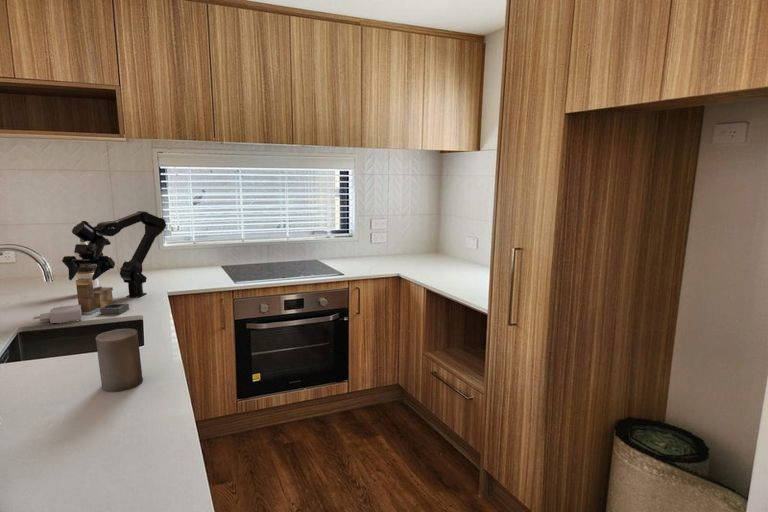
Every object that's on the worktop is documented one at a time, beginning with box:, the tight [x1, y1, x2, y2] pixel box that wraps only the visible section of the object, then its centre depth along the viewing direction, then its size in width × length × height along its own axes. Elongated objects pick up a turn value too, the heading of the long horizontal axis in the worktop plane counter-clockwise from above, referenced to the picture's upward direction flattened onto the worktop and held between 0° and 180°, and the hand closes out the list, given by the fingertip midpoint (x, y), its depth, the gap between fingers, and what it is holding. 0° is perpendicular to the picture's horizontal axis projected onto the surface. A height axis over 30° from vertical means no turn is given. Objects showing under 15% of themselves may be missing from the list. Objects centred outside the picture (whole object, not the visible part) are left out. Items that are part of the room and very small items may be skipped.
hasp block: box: [99, 303, 130, 316], centre depth 197 cm, size 7×7×2 cm
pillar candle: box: [95, 328, 144, 393], centre depth 128 cm, size 10×10×15 cm
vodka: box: [73, 238, 100, 288], centre depth 225 cm, size 9×9×30 cm
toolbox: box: [93, 285, 114, 308], centre depth 207 cm, size 10×8×8 cm
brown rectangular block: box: [75, 278, 95, 312], centre depth 197 cm, size 4×4×13 cm
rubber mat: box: [82, 308, 100, 315], centre depth 198 cm, size 8×8×1 cm
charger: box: [32, 304, 83, 324], centre depth 186 cm, size 5×9×15 cm
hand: (81, 279), depth 194 cm, fingers open, 9 cm apart
